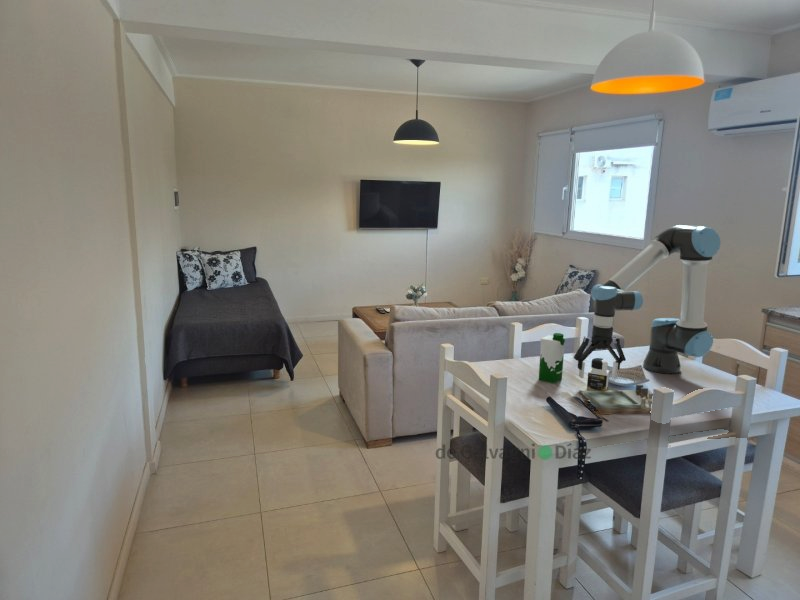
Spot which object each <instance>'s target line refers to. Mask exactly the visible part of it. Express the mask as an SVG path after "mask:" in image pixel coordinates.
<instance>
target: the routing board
mask: <svg viewBox="0 0 800 600" xmlns="http://www.w3.org/2000/svg"><path fill="white" fill-rule="evenodd" d="M653 393H654V392H652V391H651V390H650V389H649V388H648V387H644V384H636V385H635V389H623V390H621V389H618V390H615V389H612V390H610V389H609V390H607V389H606V390H591V389H587V390H579V391H578V394H579V396H581V397H582V398H583V399H584V400H585V399H586V400H590V401H591V402H592V403H593V404H594V405H595V407H596V409H597V410H598V411H597V410H596V409H595V410H596V411H597V412H598V413H599V414H600V415H605V414H606V415H625V414H626V415H627V414H629V415H634V414H635V415H637V414H638V415H639V414H646V415H648V414H650V411H651V404H652V396H653ZM586 400H585V401H586Z"/></svg>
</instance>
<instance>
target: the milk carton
mask: <svg viewBox="0 0 800 600" xmlns="http://www.w3.org/2000/svg"><path fill="white" fill-rule="evenodd" d="M566 340H567V338H566V337H565V336H564V334H563V333H561V332H555V333H553V334H552V335H549V334H548V335H546V336H544V337H541V338H540V353H539V365H538V366H539V367H538V368H539V370H538V380H539V381H542V382H546V383H550V384H556V383H558V382H560V381H562V380H563V369H564V356H565V347H566Z"/></svg>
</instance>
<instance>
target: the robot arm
mask: <svg viewBox="0 0 800 600" xmlns="http://www.w3.org/2000/svg"><path fill="white" fill-rule="evenodd" d="M720 248H721V237H720V235H719V233H718V232H717V231H716V230H715V229H714V228H713V227H709V226H704V225H686V224H676V225H673V226H671V227H669V228H666V229H665V230H663V231H662V232H660V233H659V234H657V235H656V236H654V237H653V238H652V239H651V240H650V241H649V243H648V246H647V247H645V248H644V249H643V250H642V251H641V252H639V253H638V255H636V256H635V257H633V259H632V260H630V261H629V262H628V263H627V264H626V265H624V266H623V267H622V268H621V269H620V270H618V271H617V272H616V273H615V274H614V275H613V276H612V277H610V278H609V279H608V280H607V281H605V283H604V284H602V283H601V284H599V283H598V284H595V285H594V286H593V287H592V289H591V291H590V296H591V299H592V300H593V301H594V302H595V303H594V315H593V321H592V324H593V325H592V330H591V331H592V332H591V337H587V336H583V338H582V339H583V341H582V343H581V345H580V346H579V347H578V349H577V351H576V353H575V354H574V356H573V359H574V360H576V361H577V369H578V370H579V371H578V376H579V378H581V379H584V377H585V375H584V374H585V364H586V362H585V360H586V359H587V358H588V357H589V356H590V355H591V354H592V352H594V351H595V350H601V349H602V350H606V349H607V350H608V352H609V353H610V355H611V356H612V357H613V359H614V360H613V362H612V370H611V371H612V373H611V377H612V378H613V379H618V371H619V370H620V369H621V364H622V363H623V362H626V356H625V354H624V351H623V349H622V346H621V339H620V338H619V337H617V336H614V337H613V333H614V326H615V325H614V322H615V314H616V311H619V312H620V311H637V310H639V309H640V308H642V307H643V304H644V297H643V295H642V293H641V292H640V291H636V290H627V289H628V288H629V287H631V285H633V284H634V283H635V282H637V281H638V280H639V279H640V278H641V277H642V276H643V275H644V274H645V273H648V271H649V270H651V268H653V267H654V266H655V265H656V264H657V263H659V262H660V261H661V260H662V259H667V258H668V257H669V256H671V255H673V254H676V253H679V260H680V261H681V263H683V271H682V286H681V303H680V317H679V318H676V317H675V318H674V317H660V318H655V319H653V320H652V323H651V327H650V328H651V329H650V337H649V338H650V339H649V346H648V347H649V348H648V351H647V354H646V356H645V358H644V360H643V363H642V367H643V368H644V369H646V370H648V371H650V372H655V373H660V374H668V373H674V374H678V372H679V373H680V372H681V367H682V366H681V361H680V357H679V353H681V354H683V355H686V356H687V357H693V358H701V357H704V356H705V355H707V354H708V352H710V350H711V349H712V346H713V344H714V336H713V334H712V333H711V332H710V331H708V323H707V322H705V320H704V319H705V308H706V307H705V304H706V293H707V292H706V291H707V277H708V264H709V263H710V262H711V261H713V257H714V256H715V255H717V254H718V251H719V250H720ZM590 342H591V343H590ZM612 343H613V344H614V346H615V348H616V349H615V350H616V351H615V350H614V349H613V347H612V346H611V344H612ZM589 344H590V345H589ZM587 347H588V348H587ZM616 352H617V353H616Z"/></svg>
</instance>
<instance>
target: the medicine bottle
mask: <svg viewBox="0 0 800 600" xmlns="http://www.w3.org/2000/svg"><path fill="white" fill-rule="evenodd" d="M608 365H609V361H608V360H607V359H605V358H601V357H595V358H592V360H591V366H590V369H589V371H588V372H587V382H586V384H587V385H586V389H587V390H607V389H608V386H609V380H610V379H609V377H610V370H609V369H608Z"/></svg>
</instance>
